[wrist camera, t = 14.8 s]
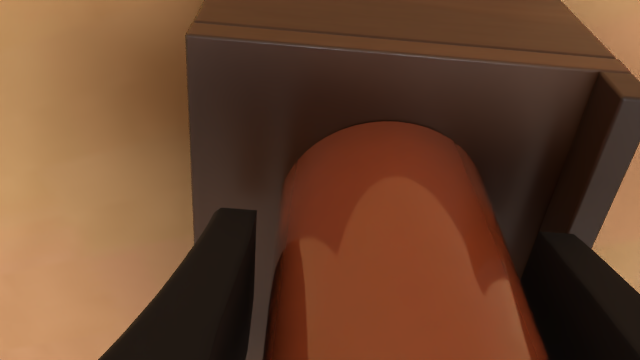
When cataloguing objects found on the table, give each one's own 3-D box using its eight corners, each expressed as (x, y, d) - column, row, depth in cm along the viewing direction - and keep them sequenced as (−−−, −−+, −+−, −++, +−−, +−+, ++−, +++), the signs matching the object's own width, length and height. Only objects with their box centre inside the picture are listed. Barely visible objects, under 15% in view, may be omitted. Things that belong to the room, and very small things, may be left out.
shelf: (428, 394, 22) (454, 554, 18) (225, 381, 22) (199, 541, 18) (551, -11, 14) (660, 100, 9) (223, -41, 14) (171, 58, 9)
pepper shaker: (460, 289, 13) (551, 654, 8) (275, 276, 13) (237, 640, 8) (508, 128, 11) (686, 489, 5) (285, 111, 11) (241, 464, 5)
